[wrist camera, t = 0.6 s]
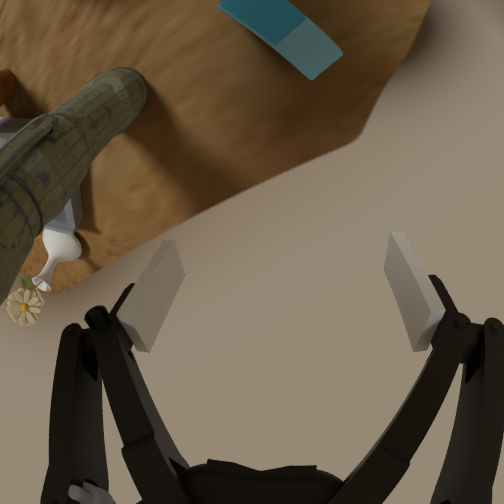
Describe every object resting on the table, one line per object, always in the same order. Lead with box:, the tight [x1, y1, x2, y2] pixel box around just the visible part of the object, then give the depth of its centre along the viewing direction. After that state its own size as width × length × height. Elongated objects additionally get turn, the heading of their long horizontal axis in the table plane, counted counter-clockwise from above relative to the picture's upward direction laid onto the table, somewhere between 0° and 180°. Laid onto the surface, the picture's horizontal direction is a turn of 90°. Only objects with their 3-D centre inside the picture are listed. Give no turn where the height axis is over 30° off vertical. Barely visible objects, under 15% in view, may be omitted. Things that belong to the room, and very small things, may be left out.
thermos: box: [0, 67, 149, 305], centre depth 21 cm, size 9×12×35 cm
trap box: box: [0, 117, 84, 236], centre depth 37 cm, size 22×30×7 cm
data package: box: [217, 0, 343, 80], centre depth 22 cm, size 12×4×12 cm, turn 49°
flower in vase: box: [7, 229, 82, 326], centre depth 47 cm, size 13×11×25 cm
